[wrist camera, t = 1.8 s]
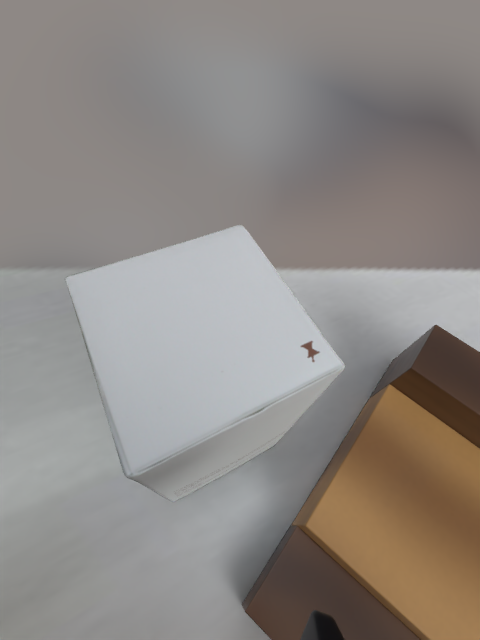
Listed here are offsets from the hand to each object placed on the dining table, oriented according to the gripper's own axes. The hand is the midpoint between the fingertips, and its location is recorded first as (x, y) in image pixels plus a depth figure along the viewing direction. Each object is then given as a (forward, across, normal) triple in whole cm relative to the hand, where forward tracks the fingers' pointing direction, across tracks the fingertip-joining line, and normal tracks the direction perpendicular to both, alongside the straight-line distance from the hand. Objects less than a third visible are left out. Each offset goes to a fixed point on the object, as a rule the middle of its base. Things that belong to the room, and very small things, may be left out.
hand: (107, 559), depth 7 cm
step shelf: (+12, -14, +6) cm, 20 cm away
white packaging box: (+14, 0, +5) cm, 15 cm away
